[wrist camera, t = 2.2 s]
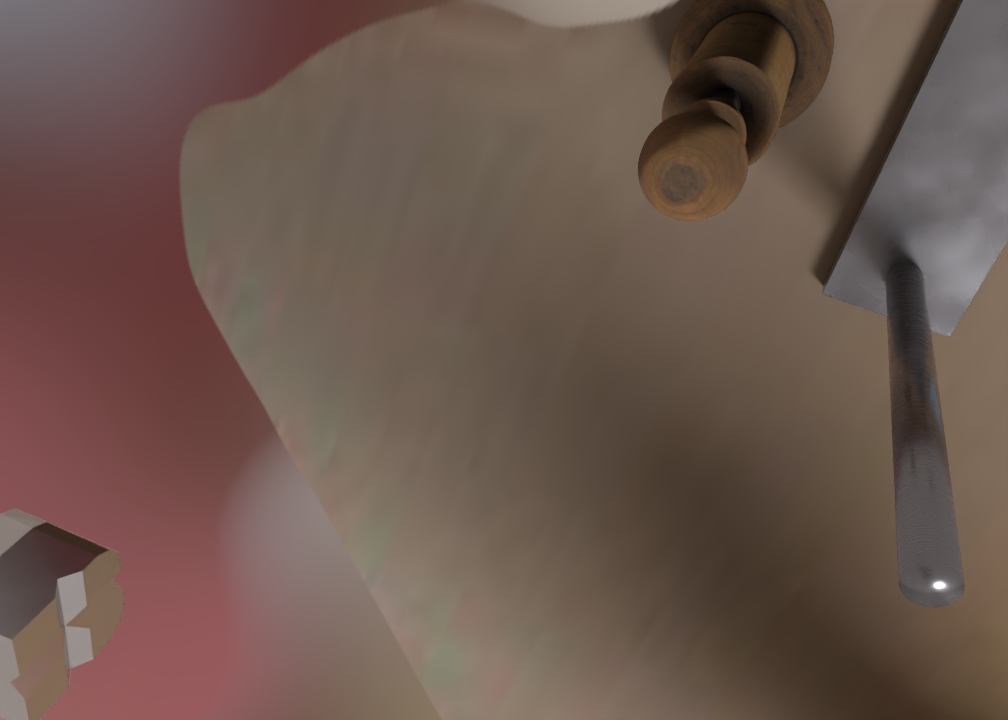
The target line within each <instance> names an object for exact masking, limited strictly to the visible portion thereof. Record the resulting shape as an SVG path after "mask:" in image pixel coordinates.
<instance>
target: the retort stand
mask: <svg viewBox="0 0 1008 720" xmlns="http://www.w3.org/2000/svg"><path fill="white" fill-rule="evenodd" d="M1007 240H1008V0H959V2H958V4H957V6H956V8H955V10H954V12H953V14H952V16H951V19H950V21H949V23H948V25H947V27H946V29H945V31H944V33H943V35H942V37H941V39H940V42H939V44H938V46H937V48H936V50H935V52H934V54H933V56H932V58H931V60H930V63H929V65H928V67H927V69H926V71H925V73H924V75H923V77H922V79H921V81H920V84H919V86H918V88H917V90H916V92H915V94H914V96H913V98H912V100H911V102H910V105H909V107H908V109H907V111H906V113H905V115H904V117H903V119H902V121H901V123H900V126H899V128H898V130H897V132H896V134H895V136H894V138H893V140H892V142H891V144H890V147H889V149H888V151H887V153H886V155H885V157H884V159H883V161H882V163H881V165H880V167H879V170H878V172H877V174H876V176H875V178H874V180H873V182H872V184H871V186H870V188H869V191H868V193H867V195H866V197H865V199H864V201H863V203H862V205H861V207H860V209H859V212H858V214H857V216H856V218H855V220H854V222H853V224H852V226H851V228H850V230H849V233H848V235H847V237H846V239H845V241H844V243H843V245H842V247H841V249H840V251H839V254H838V256H837V258H836V260H835V262H834V264H833V266H832V268H831V270H830V272H829V275H828V277H827V279H826V281H825V283H824V285H823V292H822V294H823V295H826V296H829V297H832V298H835V299H838V300H841V301H844V302H847V303H850V304H853V305H856V306H859V307H862V308H865V309H868V310H871V311H874V312H877V313H880V314H883V315H886V316H887V328H888V351H889V373H890V396H891V418H892V441H893V463H894V486H895V508H896V531H897V553H898V576H899V587H900V589H901V591H902V593H903V594H904V595H905V596H906V597H907V598H908V599H910V600H911V601H913V602H915V603H917V604H920V605H924V606H929V607H941V606H946V605H949V604H952V603H954V602H955V601H957V600H958V599H959V598H960V597H961V596H962V594H963V592H964V579H963V571H962V563H961V556H960V548H959V541H958V533H957V525H956V518H955V510H954V503H953V495H952V488H951V480H950V472H949V465H948V457H947V450H946V442H945V434H944V427H943V419H942V412H941V404H940V396H939V389H938V381H937V374H936V366H935V359H934V351H933V343H932V336H931V331H933V332H936V333H939V334H942V335H945V336H948V337H950V335H951V333H952V332H953V330H954V328H955V327H956V325H957V323H958V322H959V320H960V318H961V317H962V315H963V313H964V312H965V310H966V308H967V307H968V305H969V303H970V302H971V300H972V298H973V297H974V295H975V293H976V292H977V290H978V288H979V287H980V285H981V283H982V282H983V280H984V278H985V277H986V275H987V273H988V272H989V270H990V268H991V267H992V265H993V263H994V262H995V260H996V258H997V257H998V255H999V253H1000V252H1001V250H1002V248H1003V247H1004V245H1005V243H1006V242H1007Z"/></svg>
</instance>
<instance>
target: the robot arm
mask: <svg viewBox="0 0 1008 720" xmlns="http://www.w3.org/2000/svg"><path fill="white" fill-rule="evenodd" d="M120 570H121V566H120V559H119V553H118V552H116V551H114V550H112V549H109V548H107V547H105V546H102V545H100V544H97V543H95V542H93V541H90V540H88V539H86V538H83V537H81V536H78V535H76V534H74V533H71V532H69V531H67V530H64V529H62V528H59V527H57V526H55V525H53V524H51V523H49V522H47V521H44V520H42V519H40V518H37V517H35V516H32V515H30V514H27V513H25V512H22V511H20V510H17V509H12V510H10V511H7V512H5V513H2V514H0V717H2V718H5V719H7V720H40V718H41V717H42V716H43V715H44V714H45V713H46V712H47V711H48V709H49V708H50V707H51V706H52V705H53V704H54V703H55V702H56V700H57V699H58V698H59V697H60V696H61V695H62V694H63V693H64V692H65V690H66V689H67V688H68V687H69V680H70V671H71V668H73V667H75V666H78V665H80V664H83V663H85V662H87V661H90V660H92V659H94V658H95V657H96V655H97V654H98V653H99V652H100V651H101V650H102V648H103V647H104V646H105V645H106V644H107V643H108V641H109V640H110V638H111V636H112V634H113V632H114V630H115V628H116V627H117V625H118V623H119V621H120V619H121V615H122V610H123V606H124V599H123V591H122V590H121V588H120V587H119V586H118V584H117V583H116V581H115V580H114V576H115V575H116V574H117V573H118V572H119V571H120Z"/></svg>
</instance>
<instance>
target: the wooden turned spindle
mask: <svg viewBox="0 0 1008 720" xmlns="http://www.w3.org/2000/svg"><path fill="white" fill-rule="evenodd" d="M833 46H834V34H833V26H832V21H831V17H830V14H829V12H828V9H827V7H826V5H825V3H824V2H823V0H697V1H696V2H695V3H694V4H693V6H692V7H691V8H690V9H689V11H688V12H687V13H686V15H685V16H684V18H683V19H682V21H681V23H680V25H679V27H678V29H677V31H676V34H675V37H674V40H673V44H672V48H671V55H670V72H671V79H672V84H671V86H670V87H669V89H668V91H667V94H666V96H665V99H664V103H663V107H662V123H660V124H659V125H658V126H657V127H656V128H655V129H654V130H653V131H652V132H651V133H650V135H649V136H648V138H647V139H646V141H645V143H644V145H643V148H642V151H641V154H640V157H639V163H638V176H639V182H640V185H641V188H642V191H643V193H644V195H645V196H646V198H647V199H648V201H649V202H650V203H651V204H652V205H653V206H654V207H655V208H656V209H657V210H658V211H660V212H661V213H663V214H664V215H666V216H669V217H671V218H674V219H678V220H683V221H696V220H703V219H706V218H709V217H712V216H714V215H716V214H718V213H720V212H721V211H723V210H724V209H726V208H727V207H728V206H729V205H730V204H731V203H732V202H733V201H734V200H735V199H736V197H737V196H738V194H739V193H740V191H741V189H742V187H743V185H744V183H745V180H746V176H747V171H748V167H749V166H750V165H752V164H753V163H755V162H756V161H757V160H758V159H759V158H760V157H761V156H762V155H763V154H764V153H765V152H766V151H767V149H768V148H769V146H770V145H771V143H772V141H773V139H774V137H775V134H776V131H777V129H778V128H780V127H782V126H784V125H786V124H788V123H789V122H791V121H792V120H794V119H795V118H797V117H798V116H799V115H800V114H802V113H803V112H804V111H805V110H806V109H807V108H808V107H809V105H810V104H811V103H812V102H813V101H814V99H815V98H816V97H817V95H818V94H819V92H820V90H821V88H822V87H823V85H824V82H825V80H826V78H827V75H828V72H829V68H830V64H831V59H832V54H833Z"/></svg>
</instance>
